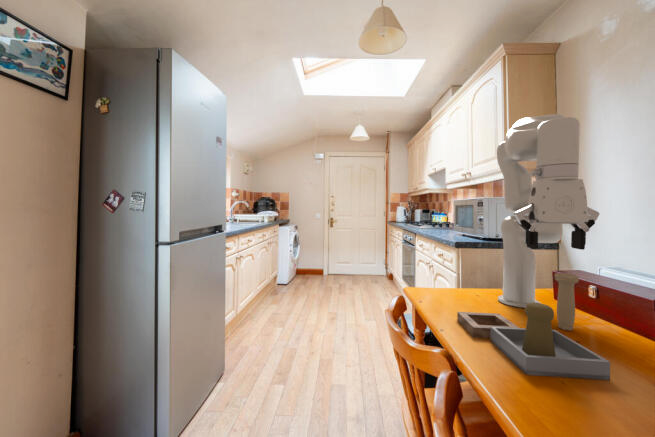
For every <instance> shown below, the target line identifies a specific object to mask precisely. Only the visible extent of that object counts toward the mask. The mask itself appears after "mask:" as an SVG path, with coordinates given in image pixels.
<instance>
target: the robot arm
mask: <svg viewBox="0 0 655 437" xmlns="http://www.w3.org/2000/svg"><path fill="white" fill-rule="evenodd" d="M580 125H581V124H580V121H579V119H577V118H576V117H574V116H573V117H571V116H563V115H562V114H560V113H559V114H558V113H556V114H555V113H553V114H552V113H551V114H545V115H538V116H529V117H523V118H521V119H518V120H517V121H516V122H515V123H514V124H513V125H512V127H511V128H510V129H508V131H507V132H506V135H505V138H504V141H502V142H500V143H498V145H497V148H496V159H497V164H498V167H499V169H500V172H501V174H502V176H503V180H504V181H503V182H504V183H503V184H504V185H503V186H504V205H505V208H506V210H507V211H508V212H510V213H513V215H509V216H507V217H505V218H503V219H502V222H501V224H500V230H501V237H502V243H503V262H502V263H503V270H502V272H503V273H502V274H503V276H502V279H503V280H502V288H501V291H502V294H501V295H498V296H497V300H498V301H499V302H500V303H502V304H504V305H506V306H511V307H515V308H522V309H523V308H524V309H525V307H526V305H527V304H529V303H541V302H540V301H538V300H537V299H536V263H537V262H536V258H537V257H536V254H535V252H534V251H533V250H537V249H538V248H539V244H555V243H558V242H560V241H561V239H562V237H563V224H564V225H565V224H566V225H568V224H569V225H570V226H571V228H572V229H574V230H572V231H571V238H570V239H571V244H570V245H571V246H570V247H571V248H572V249H576V250H585V248H586V244H587V243H586V241H587V240H586V239H587V237H586V236H587V232H589V231H590V229H591V228H592V227H593V226H594V225H595V223H596V221H597V220H598V217H599V216H600V212H599V211H598V210H594V209H593V208H592V207H588V200H587V191H586V187H585V182H584V179H581V178H579V169H580V165H579V164H580V162H579V161H580V136H581V135H580V134H581V131H580V129H581V126H580ZM535 161H536V167H535V169H531V170H530V171H529V170H528V169H527V168H526V167H525V166H523V164H521V163H519V162H535ZM533 176H534V177H535V178H534V179H535V180H534V181H532V179H533V178H532V177H533Z"/></svg>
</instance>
